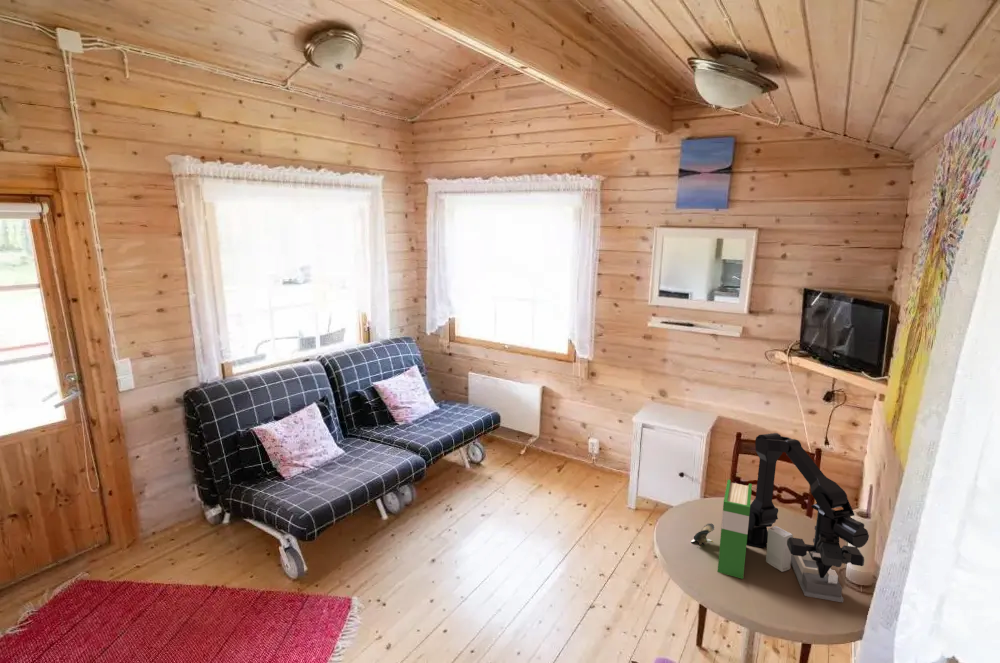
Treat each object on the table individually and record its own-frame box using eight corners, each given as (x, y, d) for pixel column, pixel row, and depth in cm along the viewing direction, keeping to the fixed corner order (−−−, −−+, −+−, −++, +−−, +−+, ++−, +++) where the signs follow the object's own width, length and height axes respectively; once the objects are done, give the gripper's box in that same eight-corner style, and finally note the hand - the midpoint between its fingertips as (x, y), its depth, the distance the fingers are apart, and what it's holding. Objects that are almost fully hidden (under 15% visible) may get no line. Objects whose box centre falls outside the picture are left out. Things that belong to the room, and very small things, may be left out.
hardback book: (721, 544, 181) (727, 479, 177) (745, 550, 178) (751, 483, 174) (717, 572, 166) (723, 501, 162) (743, 579, 162) (750, 507, 158)
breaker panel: (804, 595, 155) (806, 582, 154) (788, 557, 174) (789, 546, 173) (842, 602, 152) (844, 589, 151) (822, 563, 171) (823, 551, 170)
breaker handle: (827, 583, 154) (828, 574, 153) (824, 577, 157) (825, 568, 156) (836, 584, 153) (838, 576, 153) (833, 578, 156) (834, 570, 156)
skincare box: (790, 569, 168) (794, 534, 166) (781, 572, 166) (785, 537, 164) (773, 558, 173) (777, 524, 171) (764, 562, 171) (767, 528, 169)
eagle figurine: (712, 557, 174) (714, 532, 172) (689, 552, 176) (691, 527, 175) (712, 545, 180) (714, 521, 179) (690, 540, 183) (692, 516, 182)
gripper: (798, 537, 148) (792, 587, 150) (875, 549, 143) (867, 601, 145) (789, 518, 158) (784, 565, 161) (860, 528, 153) (853, 577, 156)
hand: (821, 577), depth 155 cm, fingers closed
